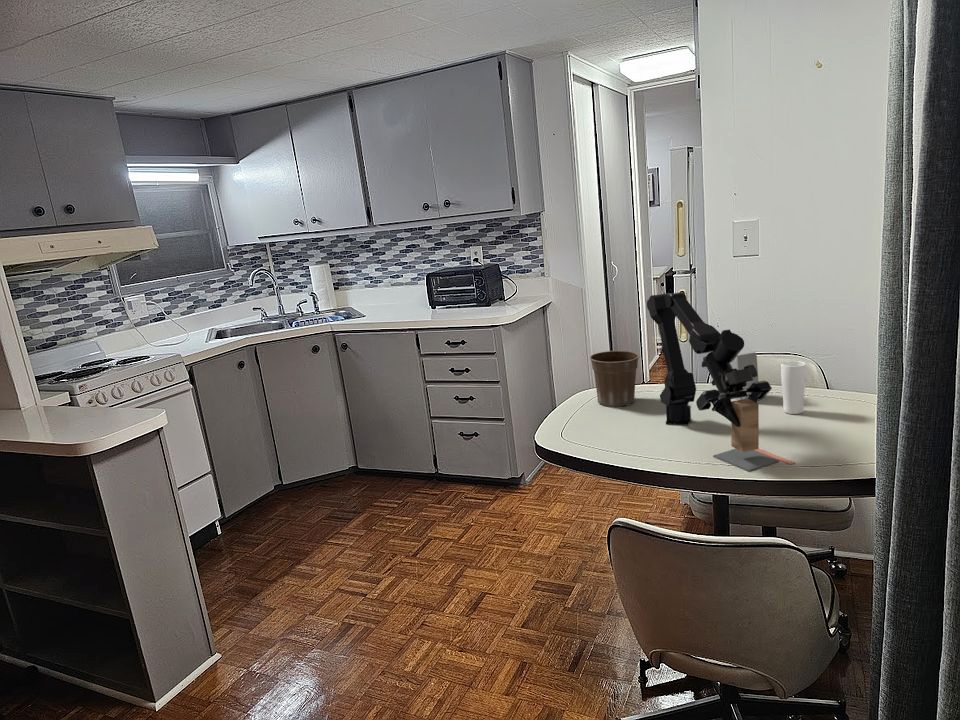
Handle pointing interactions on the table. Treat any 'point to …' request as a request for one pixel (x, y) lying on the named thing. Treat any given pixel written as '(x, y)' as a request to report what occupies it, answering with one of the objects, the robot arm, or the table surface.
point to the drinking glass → (793, 386)
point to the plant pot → (615, 377)
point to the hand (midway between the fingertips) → (748, 424)
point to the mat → (745, 459)
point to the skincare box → (745, 364)
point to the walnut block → (745, 425)
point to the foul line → (774, 456)
